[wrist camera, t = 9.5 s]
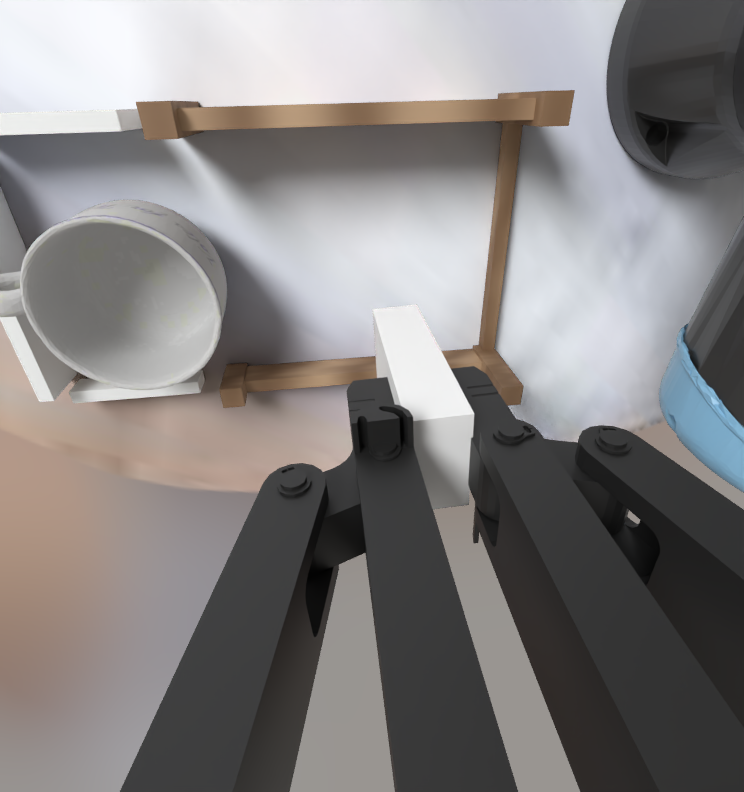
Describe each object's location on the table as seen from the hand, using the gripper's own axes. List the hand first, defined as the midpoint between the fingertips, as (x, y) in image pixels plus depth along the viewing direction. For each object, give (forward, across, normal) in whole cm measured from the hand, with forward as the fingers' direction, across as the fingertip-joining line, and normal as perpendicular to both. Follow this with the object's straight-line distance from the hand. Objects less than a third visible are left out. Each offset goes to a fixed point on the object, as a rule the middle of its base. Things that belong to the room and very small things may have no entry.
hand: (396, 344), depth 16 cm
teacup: (+20, +16, +2) cm, 26 cm away
